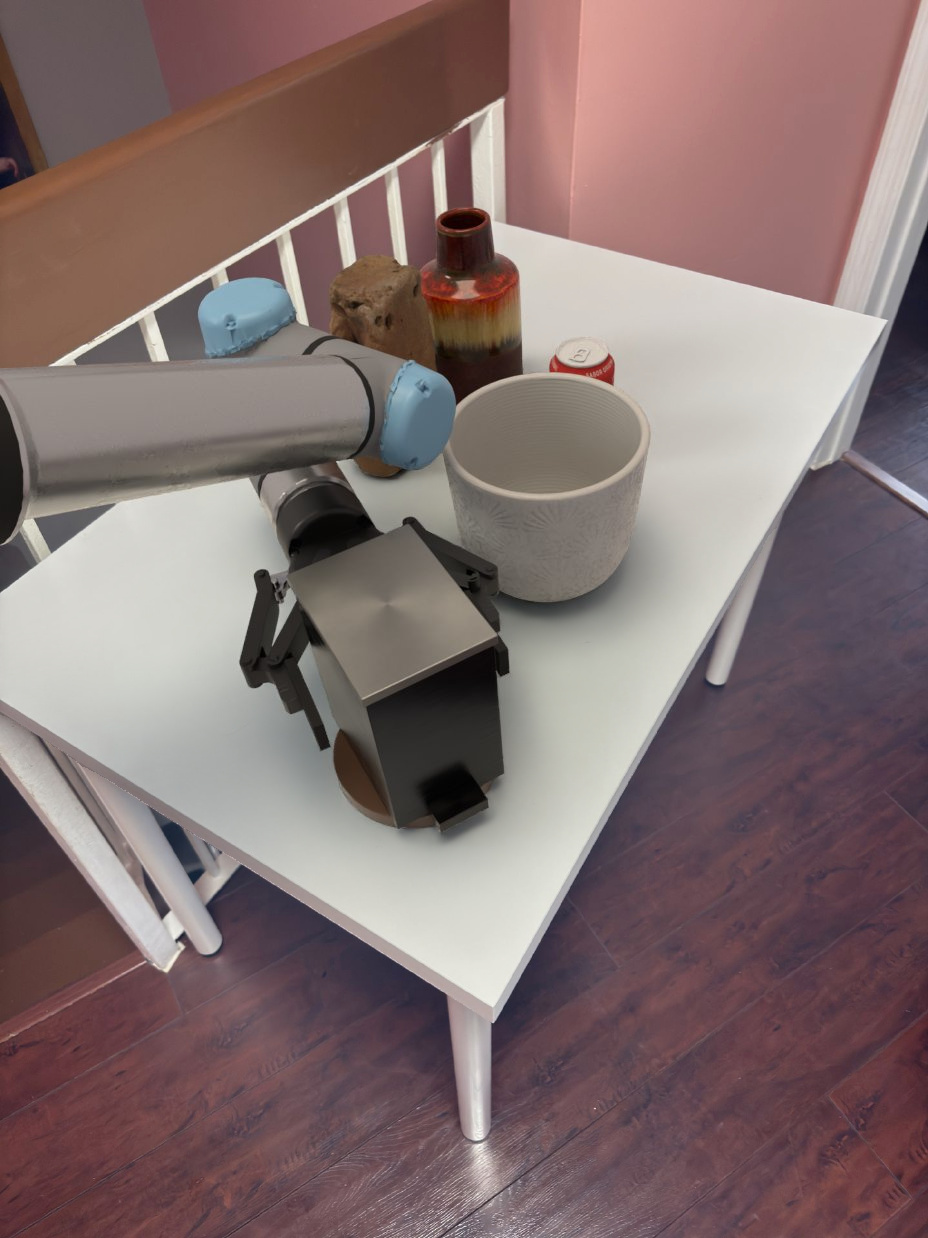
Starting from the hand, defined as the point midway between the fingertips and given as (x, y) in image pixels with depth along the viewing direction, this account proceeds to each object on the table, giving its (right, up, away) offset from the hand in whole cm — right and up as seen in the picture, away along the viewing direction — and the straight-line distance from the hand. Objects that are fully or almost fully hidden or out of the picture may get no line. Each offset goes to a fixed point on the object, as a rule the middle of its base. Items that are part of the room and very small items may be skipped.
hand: (415, 700), depth 62 cm
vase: (+5, +31, +42) cm, 52 cm away
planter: (+11, +11, +23) cm, 27 cm away
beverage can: (+16, +23, +34) cm, 44 cm away
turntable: (0, -5, +9) cm, 11 cm away
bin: (0, -5, +8) cm, 9 cm away
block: (-4, +23, +36) cm, 43 cm away
